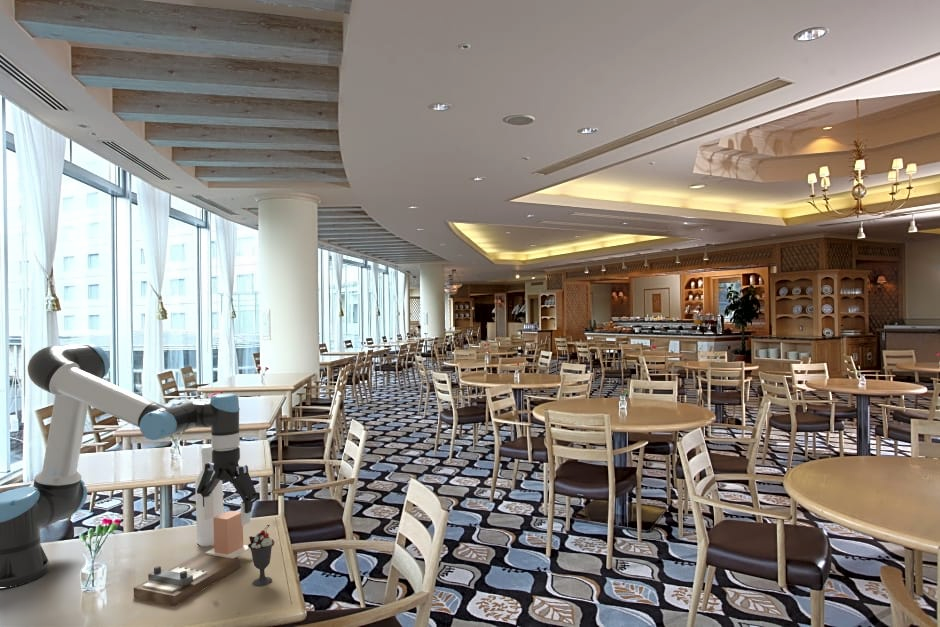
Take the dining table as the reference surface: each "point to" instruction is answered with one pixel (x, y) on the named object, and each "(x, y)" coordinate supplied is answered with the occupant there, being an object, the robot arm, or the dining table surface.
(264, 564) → the sundae
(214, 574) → the board
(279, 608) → the dining table surface
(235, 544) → the stub
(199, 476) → the bottle
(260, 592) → the dining table surface
